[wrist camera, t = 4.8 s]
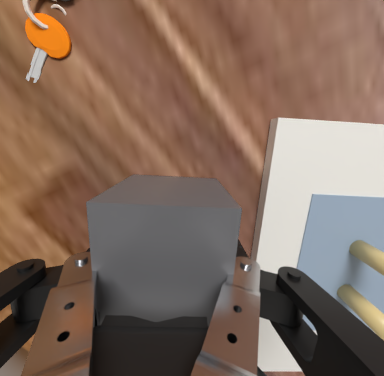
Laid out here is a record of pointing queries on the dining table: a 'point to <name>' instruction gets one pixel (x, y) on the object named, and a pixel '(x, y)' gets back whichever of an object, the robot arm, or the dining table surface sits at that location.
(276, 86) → the dining table surface
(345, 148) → the board
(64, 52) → the key chain
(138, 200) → the block
